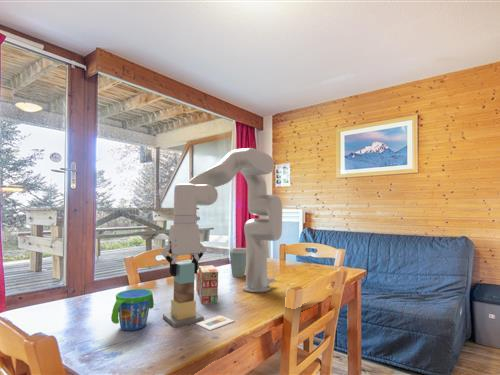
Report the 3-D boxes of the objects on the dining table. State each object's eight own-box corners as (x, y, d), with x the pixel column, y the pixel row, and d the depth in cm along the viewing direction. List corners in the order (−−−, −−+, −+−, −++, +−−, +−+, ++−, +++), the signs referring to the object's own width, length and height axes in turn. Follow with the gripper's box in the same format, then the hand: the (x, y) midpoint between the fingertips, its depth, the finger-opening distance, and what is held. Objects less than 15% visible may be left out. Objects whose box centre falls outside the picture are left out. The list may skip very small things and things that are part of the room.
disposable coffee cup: (226, 274, 166) (227, 246, 167) (245, 273, 169) (245, 246, 170) (231, 278, 156) (231, 249, 156) (251, 277, 159) (251, 248, 160)
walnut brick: (187, 296, 104) (187, 278, 104) (193, 300, 100) (194, 281, 100) (173, 299, 101) (173, 280, 101) (179, 303, 97) (180, 284, 97)
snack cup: (141, 315, 103) (142, 285, 103) (164, 321, 98) (165, 289, 98) (99, 332, 89) (100, 297, 90) (123, 340, 84) (124, 302, 85)
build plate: (190, 311, 107) (190, 293, 107) (203, 320, 99) (204, 301, 99) (162, 317, 101) (163, 298, 101) (174, 327, 93) (175, 306, 93)
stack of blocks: (195, 289, 135) (196, 261, 136) (209, 288, 137) (210, 261, 138) (201, 304, 115) (202, 271, 116) (218, 303, 117) (218, 270, 117)
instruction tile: (220, 316, 103) (220, 314, 103) (234, 321, 98) (234, 320, 98) (195, 324, 95) (195, 322, 95) (209, 330, 91) (209, 329, 91)
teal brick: (188, 278, 104) (188, 261, 104) (194, 281, 100) (194, 263, 100) (174, 280, 101) (174, 262, 101) (179, 284, 97) (180, 265, 97)
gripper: (203, 219, 110) (202, 269, 109) (155, 220, 100) (154, 275, 99) (213, 220, 104) (212, 273, 103) (164, 221, 94) (162, 280, 92)
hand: (184, 273), depth 101 cm, fingers open, 6 cm apart
